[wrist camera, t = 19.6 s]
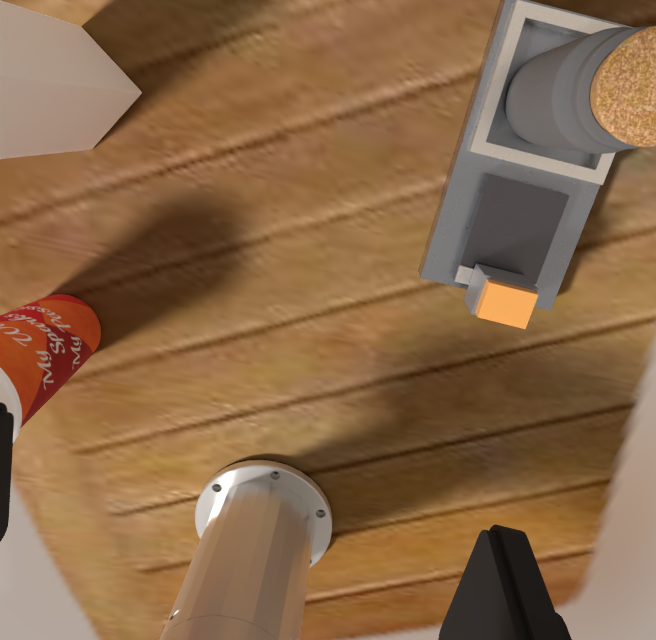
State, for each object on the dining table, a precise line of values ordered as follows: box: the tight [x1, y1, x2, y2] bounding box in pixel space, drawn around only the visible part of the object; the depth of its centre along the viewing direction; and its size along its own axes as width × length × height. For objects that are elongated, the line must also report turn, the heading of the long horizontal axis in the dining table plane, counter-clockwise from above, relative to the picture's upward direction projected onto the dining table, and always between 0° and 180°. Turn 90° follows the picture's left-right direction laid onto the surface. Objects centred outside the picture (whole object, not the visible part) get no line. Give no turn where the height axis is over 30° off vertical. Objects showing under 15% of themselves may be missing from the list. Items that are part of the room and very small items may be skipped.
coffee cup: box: [0, 294, 101, 442], centre depth 41 cm, size 8×8×15 cm
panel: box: [419, 0, 634, 311], centre depth 39 cm, size 19×10×4 cm, turn 166°
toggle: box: [464, 263, 538, 329], centre depth 39 cm, size 3×4×4 cm
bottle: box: [505, 26, 656, 154], centre depth 31 cm, size 6×6×15 cm
